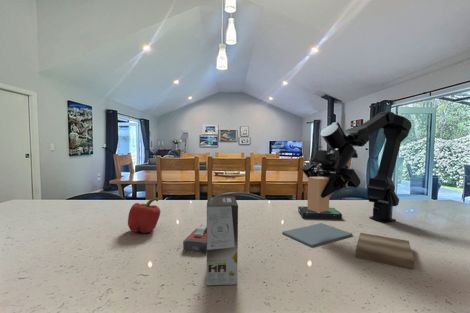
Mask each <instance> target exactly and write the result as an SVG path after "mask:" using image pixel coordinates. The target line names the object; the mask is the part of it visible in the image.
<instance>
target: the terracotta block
mask: <svg viewBox="0 0 470 313" xmlns="http://www.w3.org/2000/svg"><path fill="white" fill-rule="evenodd" d="M328 182H329V178H326V177H319V176H317V177H308V178H307V206H306V207H307V209H309V210H312V211H316V212H324V211H329V208H330V195H328V196H326V197H324V198H322V197H321V194H322V192H323V190H324V188H325V187H326V185H327V183H328Z"/></svg>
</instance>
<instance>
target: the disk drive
mask: <svg viewBox="0 0 470 313" xmlns="http://www.w3.org/2000/svg"><path fill="white" fill-rule="evenodd" d="M297 210H298V212H297V213H298V214H299V215H300V217H301V218H302V219H306V220H307V219H310V220H311V219H313V220H337V221H340V220H341V221H342V220H343V214H342V212H340V211H339V210H337V209H336V208H335V207H329V211H324V212H316V211H312V210H309V209H307V206H297Z"/></svg>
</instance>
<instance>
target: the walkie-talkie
mask: <svg viewBox="0 0 470 313" xmlns="http://www.w3.org/2000/svg"><path fill="white" fill-rule="evenodd" d="M182 248H183V251H184V250H185V251H184V252H190V251H193V253H201V252H202V253H203V254H204V253H207V224H201V225H200V226H199V227H198V228H195V229H194V230H193V231H192V232H191V233H189V235H188V236H187V237H186V238H185V239H184V240H183V241H182ZM202 253H201V254H202Z"/></svg>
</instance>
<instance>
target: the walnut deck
mask: <svg viewBox="0 0 470 313" xmlns="http://www.w3.org/2000/svg"><path fill="white" fill-rule="evenodd" d="M355 258H359V259H363V260H367V261H372V262H376V263H377V262H378V263H382V264H386V265H391V266H396V267H401V268H405V269H409V270H414V269H415V258H414V256H413V251H412V247H411V244H410V240H406V239H401V238H396V237H395V238H394V237H389V236H382V235H378V234H377V235H375V234H372V233H363V232H359V236H358V239H357V243H356V247H355Z"/></svg>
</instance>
